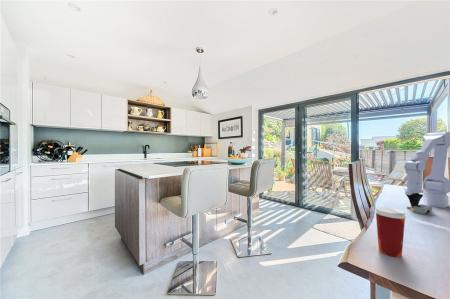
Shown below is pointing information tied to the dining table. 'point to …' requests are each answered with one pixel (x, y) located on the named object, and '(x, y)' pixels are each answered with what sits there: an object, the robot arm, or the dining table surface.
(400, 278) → the dining table surface
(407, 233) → the dining table surface
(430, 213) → the zinc pin
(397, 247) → the paper cup
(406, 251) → the dining table surface
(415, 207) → the hitch block
